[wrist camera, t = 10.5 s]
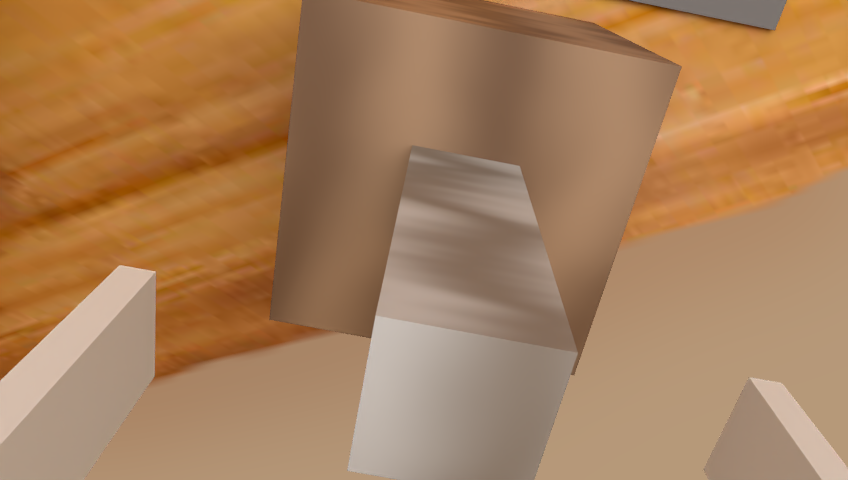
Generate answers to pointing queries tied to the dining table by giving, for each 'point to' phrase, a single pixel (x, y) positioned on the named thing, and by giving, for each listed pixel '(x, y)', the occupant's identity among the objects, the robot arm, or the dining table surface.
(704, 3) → the mat
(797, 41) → the dining table surface
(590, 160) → the wooden block with peg
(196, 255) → the dining table surface
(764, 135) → the dining table surface
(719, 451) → the robot arm
